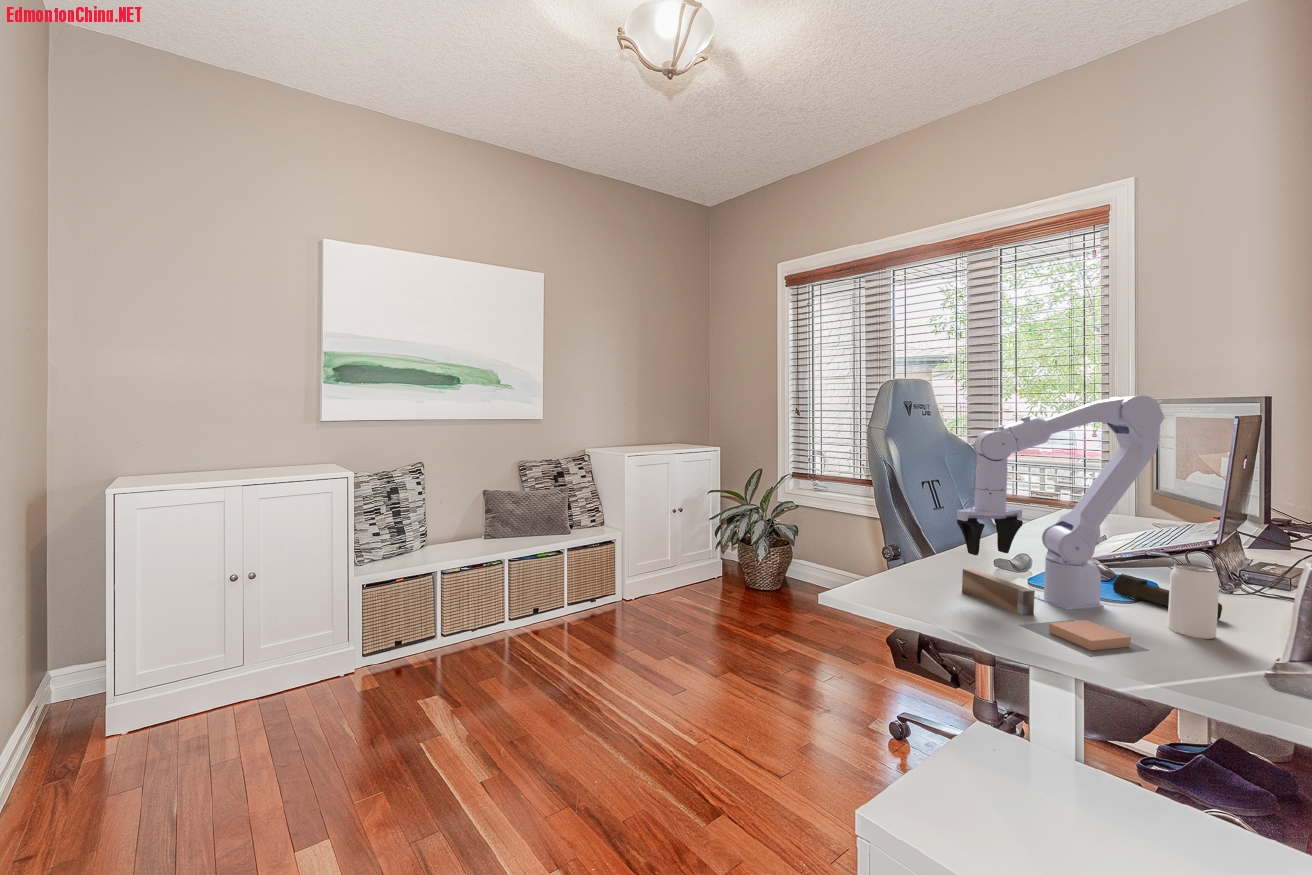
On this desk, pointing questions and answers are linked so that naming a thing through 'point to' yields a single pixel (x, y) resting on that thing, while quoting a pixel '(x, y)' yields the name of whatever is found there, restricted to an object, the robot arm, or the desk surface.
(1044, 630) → the mat
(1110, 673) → the desk surface
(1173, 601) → the can
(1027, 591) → the wooden plank
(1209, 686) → the desk surface
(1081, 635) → the tile
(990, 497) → the robot arm
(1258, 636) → the desk surface
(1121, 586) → the hand tool
